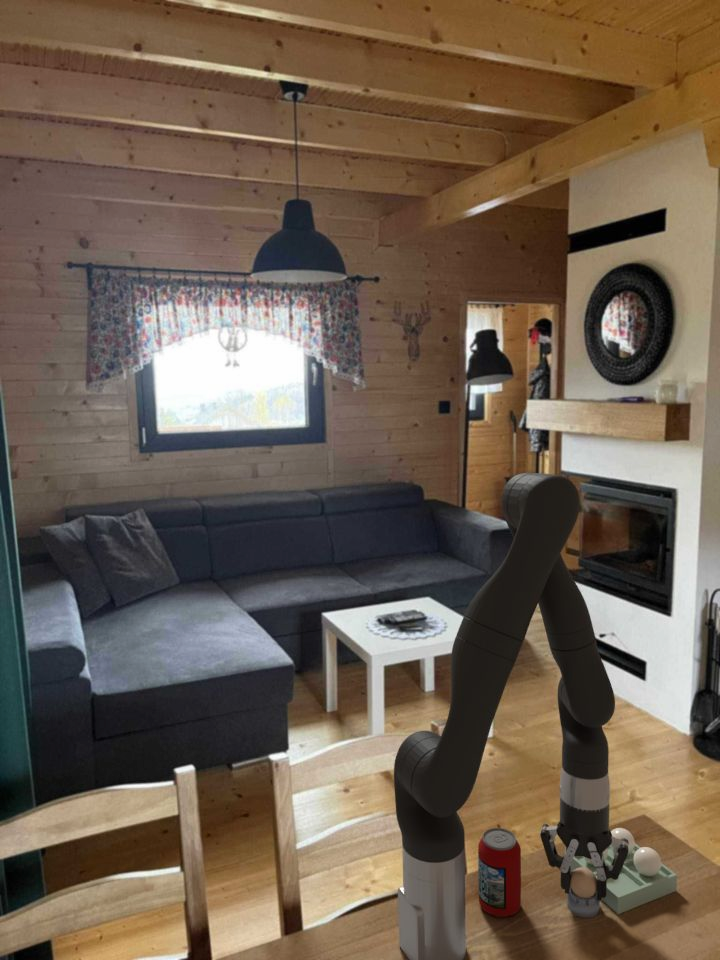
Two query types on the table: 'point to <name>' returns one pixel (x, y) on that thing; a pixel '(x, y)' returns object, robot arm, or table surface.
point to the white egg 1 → (591, 859)
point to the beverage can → (499, 872)
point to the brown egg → (583, 882)
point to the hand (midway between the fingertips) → (583, 893)
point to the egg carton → (631, 883)
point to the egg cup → (583, 905)
